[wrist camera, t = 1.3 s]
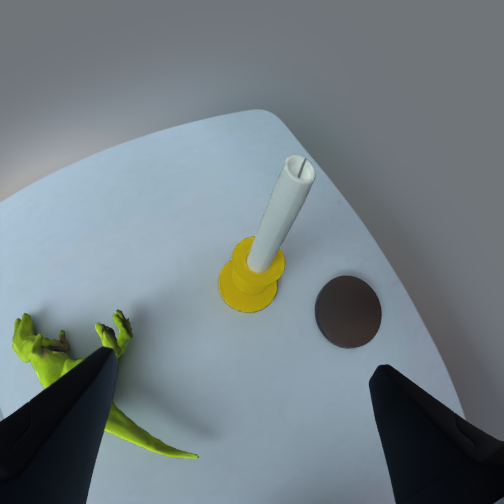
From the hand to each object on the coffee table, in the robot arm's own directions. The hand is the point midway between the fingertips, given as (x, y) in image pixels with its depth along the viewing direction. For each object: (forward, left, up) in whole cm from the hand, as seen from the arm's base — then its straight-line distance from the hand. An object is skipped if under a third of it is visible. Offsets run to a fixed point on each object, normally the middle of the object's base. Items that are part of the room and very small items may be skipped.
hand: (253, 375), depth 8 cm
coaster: (+1, -13, -14) cm, 19 cm away
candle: (+7, -5, -14) cm, 17 cm away
